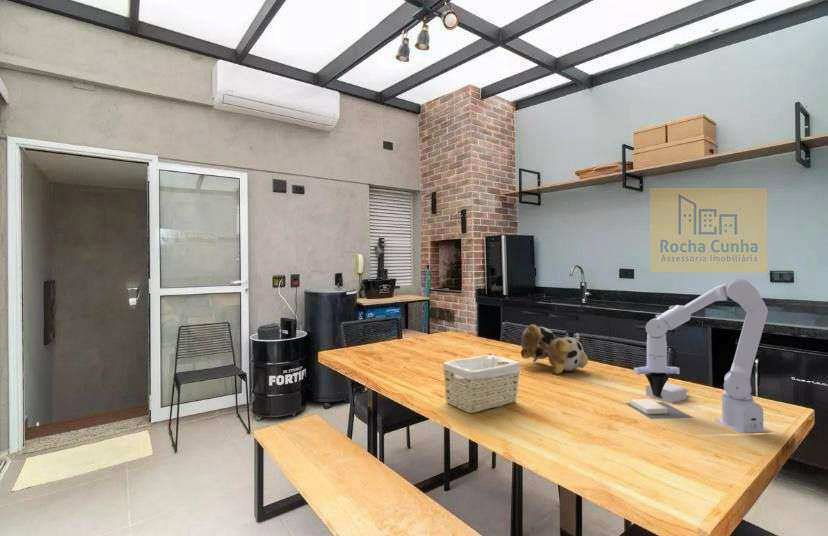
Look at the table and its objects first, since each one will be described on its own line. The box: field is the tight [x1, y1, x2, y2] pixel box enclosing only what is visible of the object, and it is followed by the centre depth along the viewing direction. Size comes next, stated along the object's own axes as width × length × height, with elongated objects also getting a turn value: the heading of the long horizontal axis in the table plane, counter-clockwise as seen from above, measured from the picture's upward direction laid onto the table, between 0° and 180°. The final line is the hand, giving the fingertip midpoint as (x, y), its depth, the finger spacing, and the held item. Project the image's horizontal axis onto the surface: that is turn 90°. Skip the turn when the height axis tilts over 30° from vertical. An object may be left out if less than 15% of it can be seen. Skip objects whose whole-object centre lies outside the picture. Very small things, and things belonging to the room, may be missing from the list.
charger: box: [645, 382, 689, 404], centre depth 146 cm, size 5×9×15 cm
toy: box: [520, 324, 589, 375], centre depth 187 cm, size 22×34×20 cm
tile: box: [629, 398, 668, 414], centre depth 133 cm, size 9×2×7 cm
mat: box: [624, 401, 694, 420], centre depth 132 cm, size 14×14×1 cm
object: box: [442, 354, 521, 414], centre depth 141 cm, size 24×16×15 cm
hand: (656, 395), depth 133 cm, fingers closed
